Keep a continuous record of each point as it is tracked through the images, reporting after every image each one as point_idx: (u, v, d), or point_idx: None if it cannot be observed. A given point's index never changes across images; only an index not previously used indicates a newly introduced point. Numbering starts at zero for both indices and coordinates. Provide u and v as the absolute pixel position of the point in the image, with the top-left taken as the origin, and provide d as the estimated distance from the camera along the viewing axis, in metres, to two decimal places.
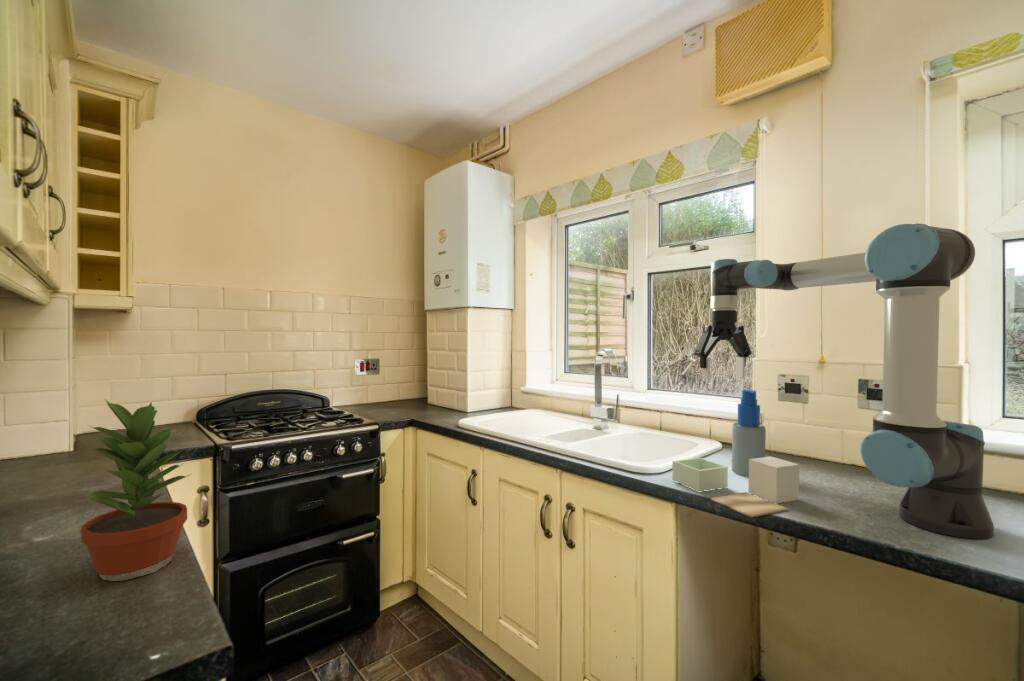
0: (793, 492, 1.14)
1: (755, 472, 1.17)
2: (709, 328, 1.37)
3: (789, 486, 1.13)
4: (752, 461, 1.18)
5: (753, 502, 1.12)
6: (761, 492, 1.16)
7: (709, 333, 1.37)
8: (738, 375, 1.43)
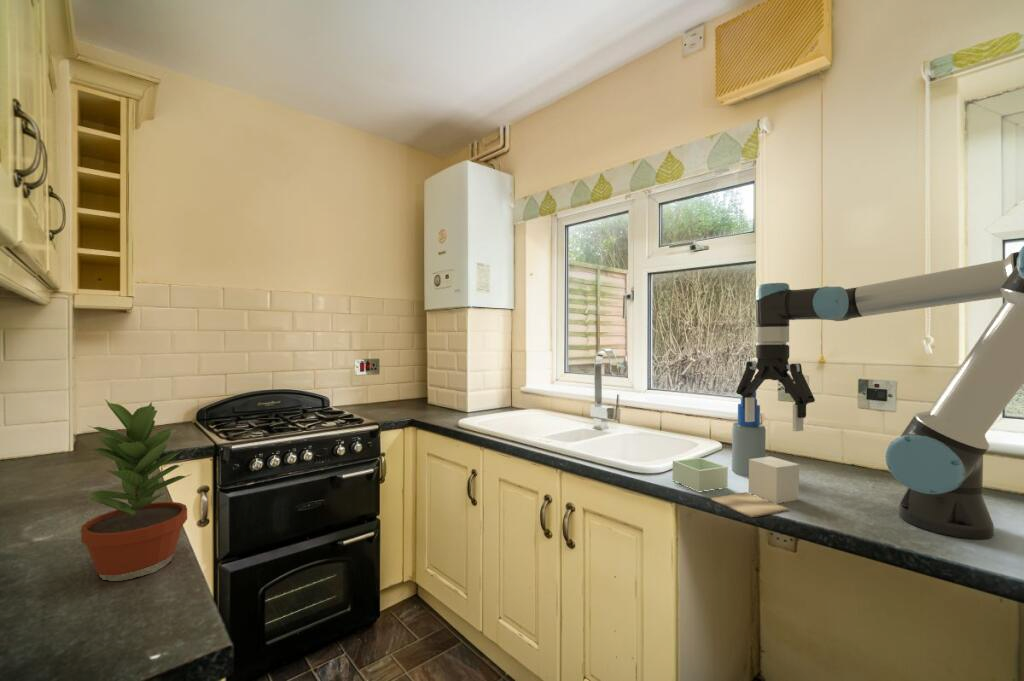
0: (793, 492, 1.14)
1: (755, 472, 1.17)
2: (747, 364, 1.22)
3: (789, 486, 1.13)
4: (752, 461, 1.18)
5: (753, 502, 1.12)
6: (761, 492, 1.16)
7: (747, 370, 1.22)
8: None
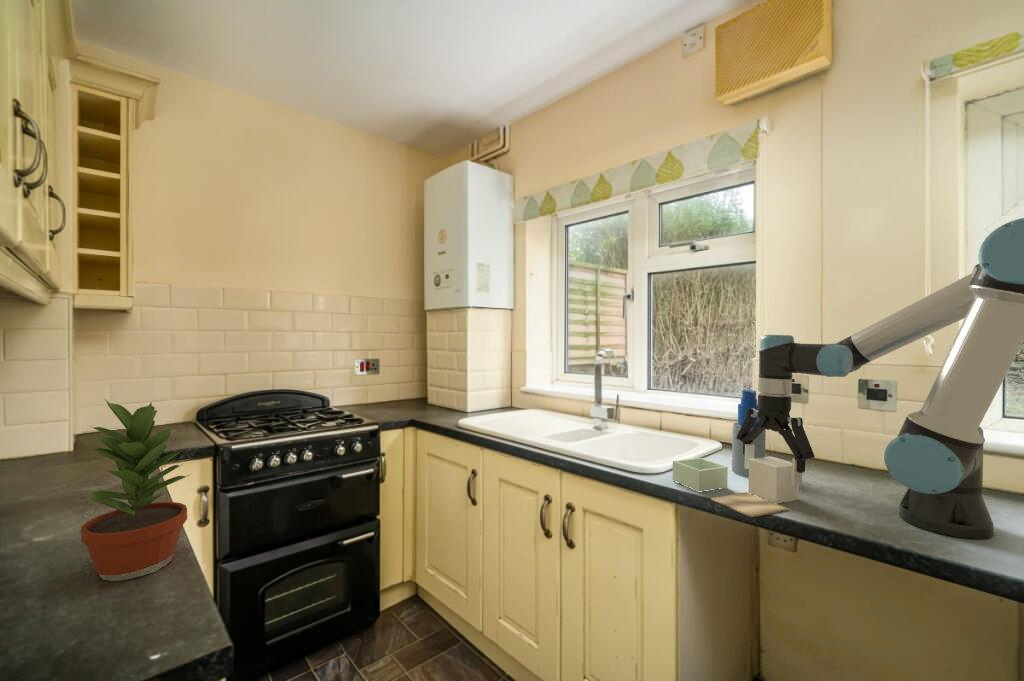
0: (793, 492, 1.14)
1: (755, 472, 1.17)
2: (748, 412, 1.22)
3: (789, 486, 1.13)
4: (752, 461, 1.18)
5: (753, 502, 1.12)
6: (761, 492, 1.16)
7: (748, 417, 1.22)
8: None
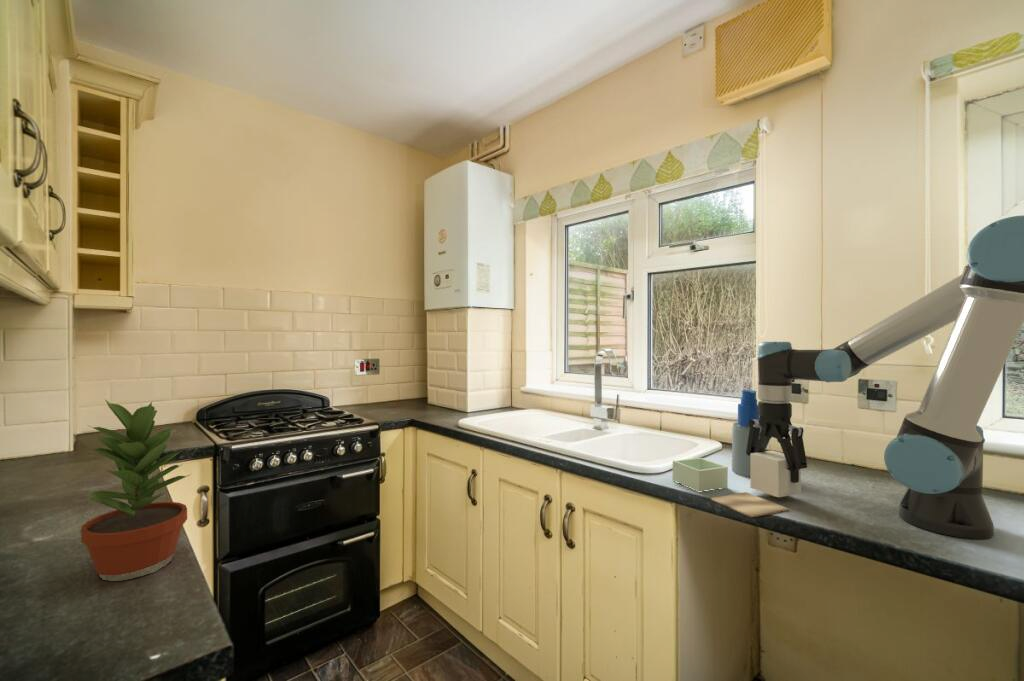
0: None
1: (757, 466, 1.17)
2: (750, 423, 1.22)
3: None
4: (753, 455, 1.18)
5: (753, 502, 1.12)
6: (763, 486, 1.15)
7: (751, 429, 1.22)
8: None
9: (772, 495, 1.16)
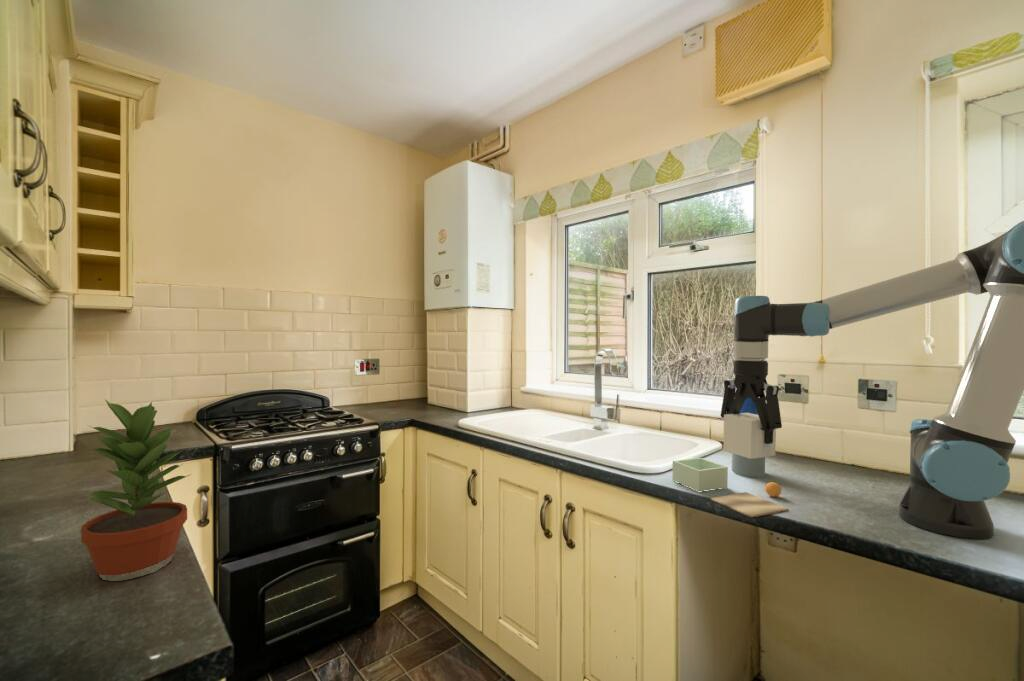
0: None
1: (730, 427, 1.11)
2: (725, 384, 1.16)
3: None
4: (727, 416, 1.12)
5: (753, 502, 1.12)
6: (736, 448, 1.10)
7: (726, 390, 1.16)
8: None
9: (772, 495, 1.16)
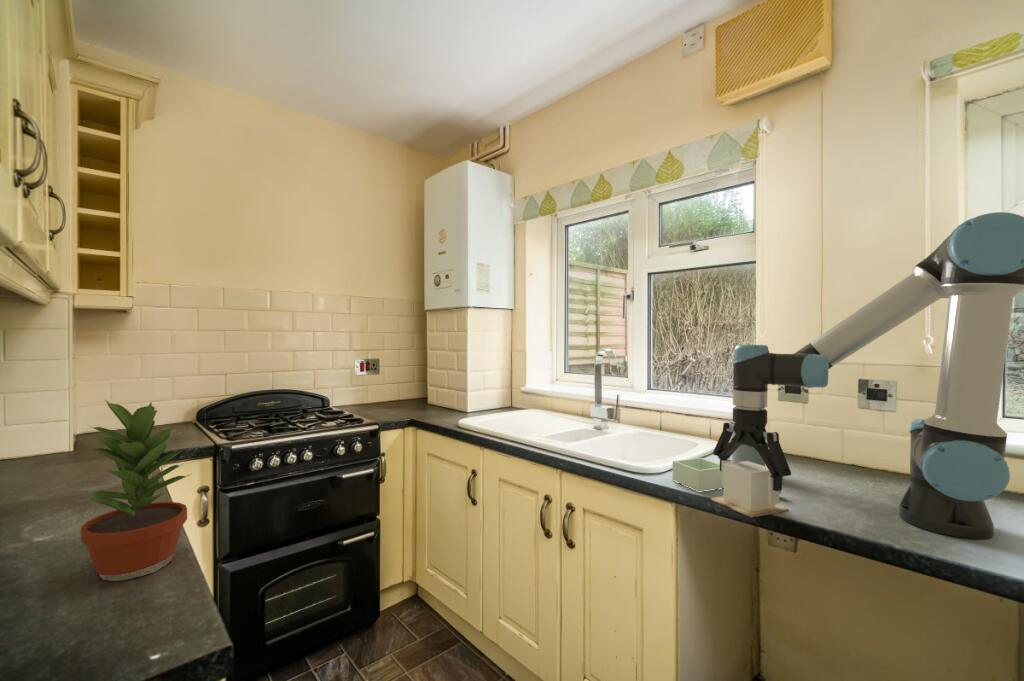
0: None
1: (730, 478, 1.11)
2: (724, 426, 1.16)
3: (765, 492, 1.08)
4: (727, 466, 1.12)
5: None
6: (736, 499, 1.10)
7: (724, 432, 1.16)
8: None
9: None
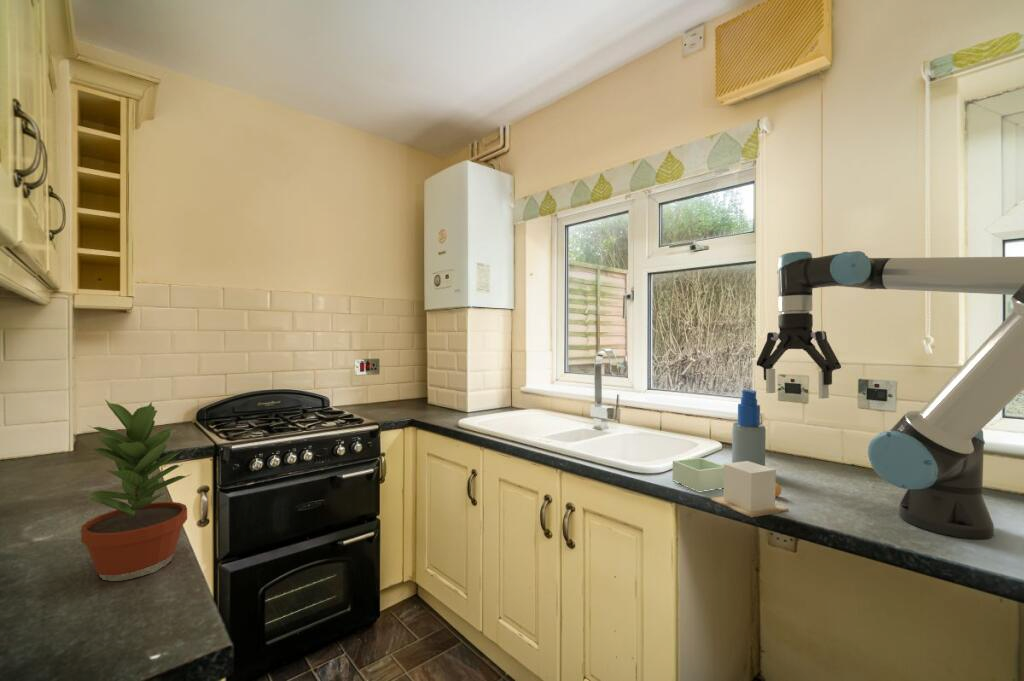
0: (769, 499, 1.08)
1: (730, 478, 1.11)
2: (768, 335, 1.22)
3: (765, 492, 1.08)
4: (727, 466, 1.12)
5: None
6: (736, 499, 1.10)
7: (768, 341, 1.22)
8: None
9: None
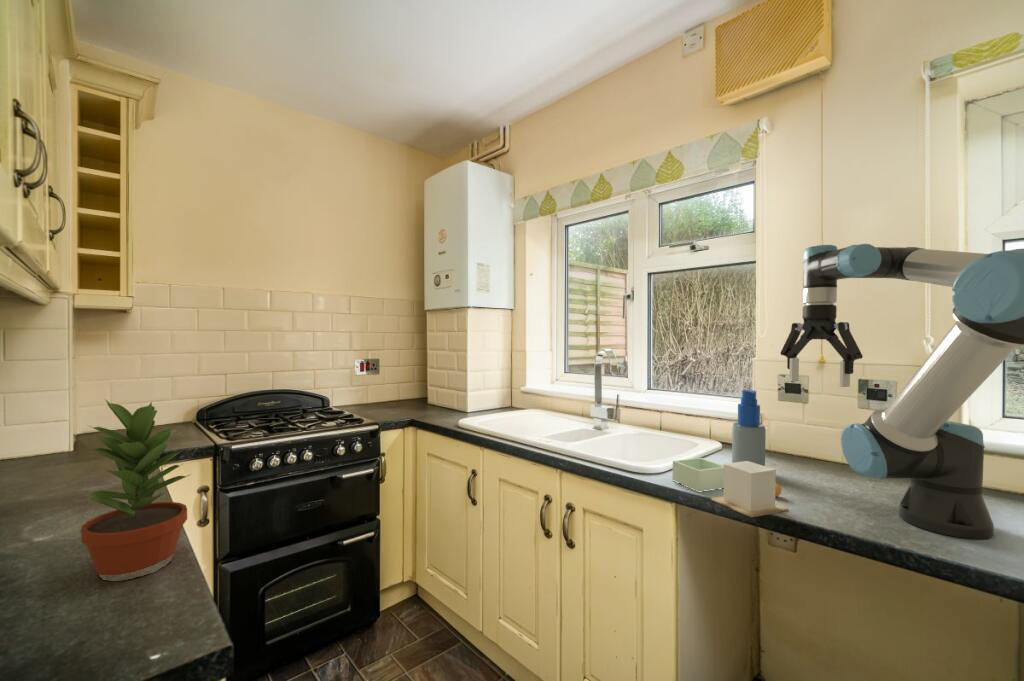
0: (769, 499, 1.08)
1: (730, 478, 1.11)
2: (792, 326, 1.27)
3: (765, 492, 1.08)
4: (727, 466, 1.12)
5: None
6: (736, 499, 1.10)
7: (792, 331, 1.27)
8: None
9: None
